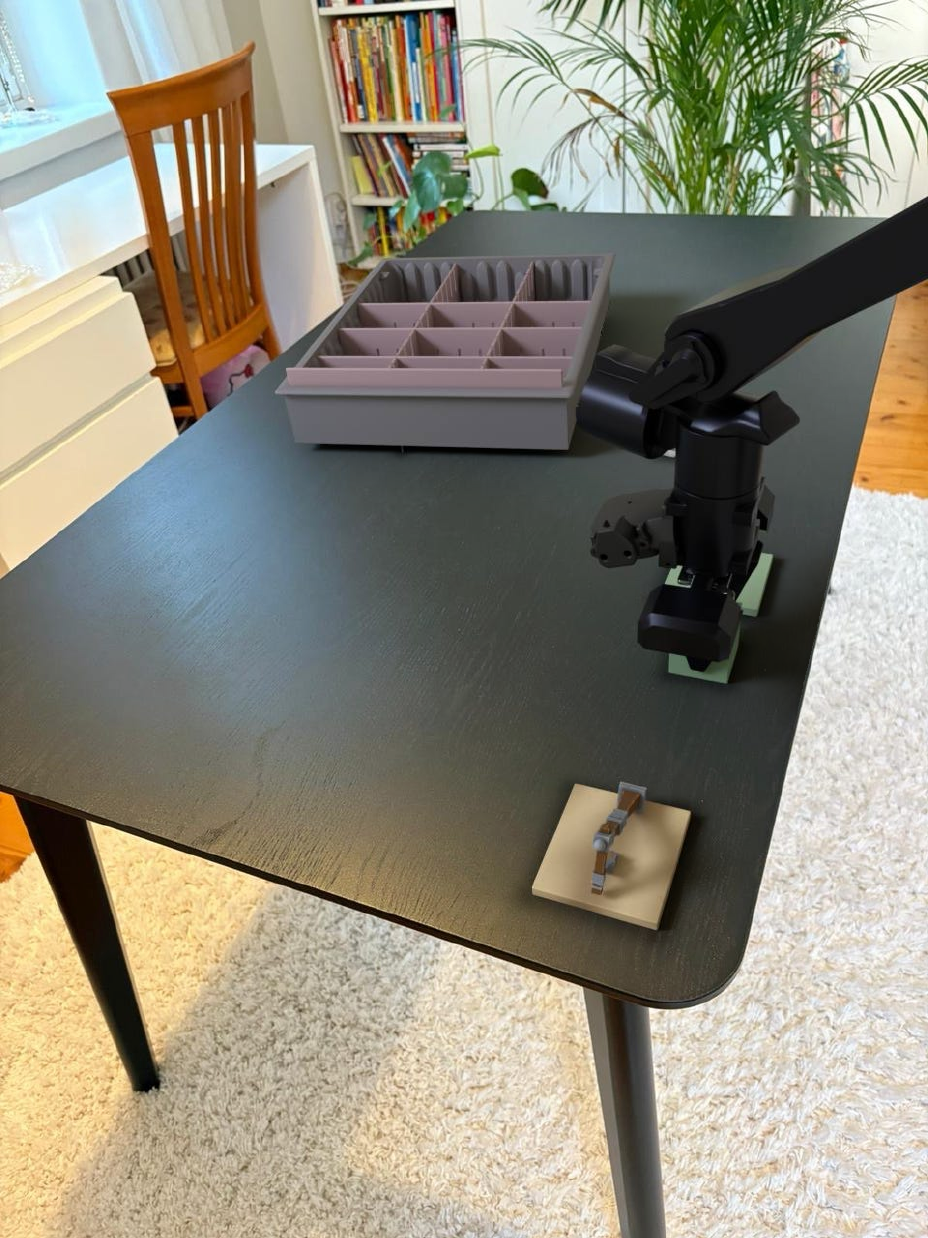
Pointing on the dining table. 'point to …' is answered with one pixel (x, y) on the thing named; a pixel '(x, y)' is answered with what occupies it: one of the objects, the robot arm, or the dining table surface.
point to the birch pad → (640, 862)
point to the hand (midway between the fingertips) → (704, 649)
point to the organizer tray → (455, 354)
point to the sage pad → (752, 589)
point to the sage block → (714, 670)
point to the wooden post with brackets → (614, 832)
